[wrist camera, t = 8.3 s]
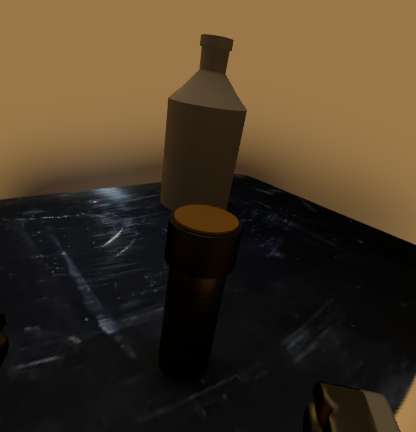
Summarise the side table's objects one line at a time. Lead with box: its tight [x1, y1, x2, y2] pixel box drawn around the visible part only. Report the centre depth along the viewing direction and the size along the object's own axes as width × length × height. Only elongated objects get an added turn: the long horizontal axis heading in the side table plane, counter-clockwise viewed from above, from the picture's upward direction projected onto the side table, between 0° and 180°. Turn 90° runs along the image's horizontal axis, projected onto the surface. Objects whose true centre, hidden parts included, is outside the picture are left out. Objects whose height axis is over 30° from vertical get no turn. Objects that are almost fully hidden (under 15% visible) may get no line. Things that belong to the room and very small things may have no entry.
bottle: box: [160, 34, 247, 211], centre depth 50 cm, size 12×12×25 cm
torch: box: [158, 205, 243, 382], centre depth 22 cm, size 5×5×12 cm
